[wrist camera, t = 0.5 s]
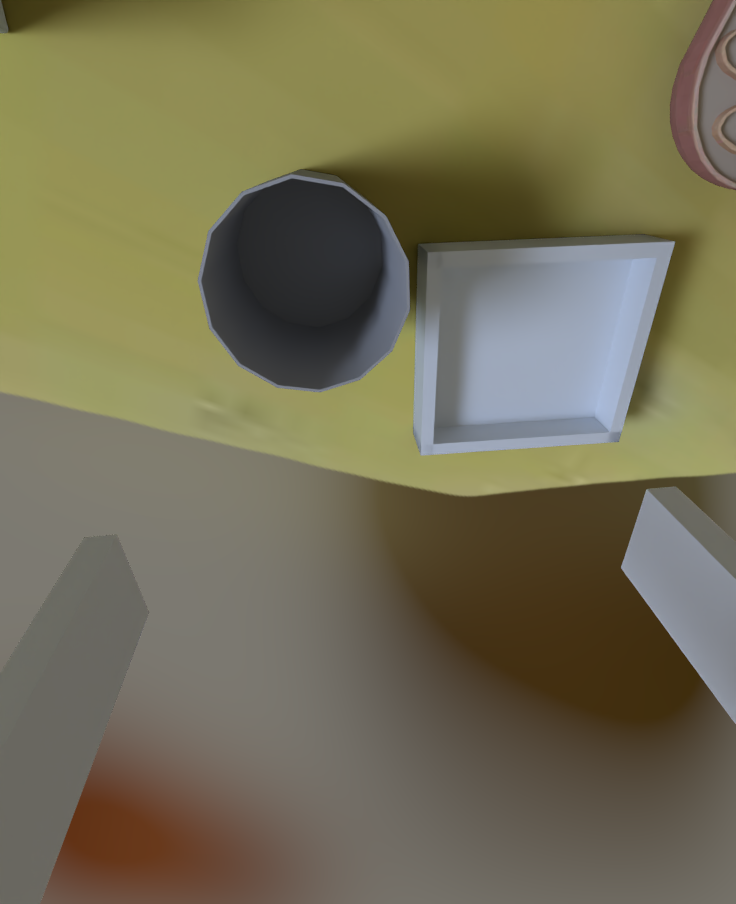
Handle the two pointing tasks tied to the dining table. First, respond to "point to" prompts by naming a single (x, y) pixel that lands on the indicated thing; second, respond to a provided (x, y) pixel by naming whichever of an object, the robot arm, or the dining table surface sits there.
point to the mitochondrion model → (708, 98)
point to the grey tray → (531, 339)
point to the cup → (305, 282)
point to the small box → (3, 20)
